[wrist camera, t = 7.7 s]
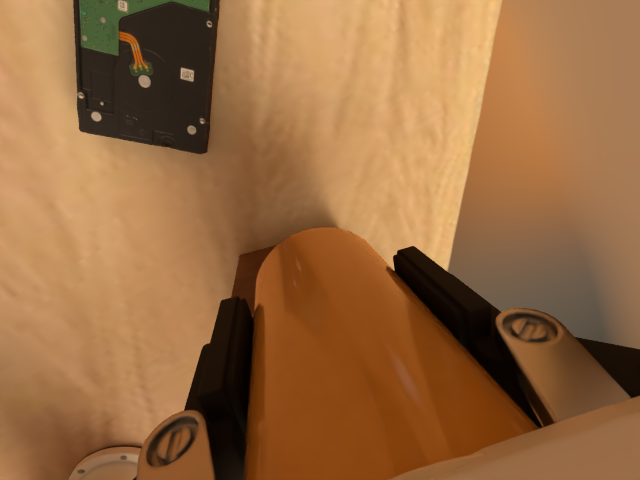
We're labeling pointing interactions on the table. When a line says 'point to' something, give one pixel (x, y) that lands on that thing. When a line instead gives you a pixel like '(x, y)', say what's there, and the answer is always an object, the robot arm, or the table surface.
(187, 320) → the table surface
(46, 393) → the table surface
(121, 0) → the disk drive
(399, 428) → the canister
